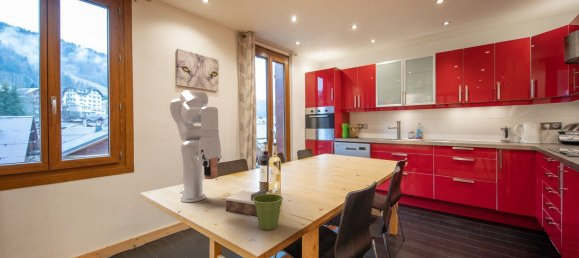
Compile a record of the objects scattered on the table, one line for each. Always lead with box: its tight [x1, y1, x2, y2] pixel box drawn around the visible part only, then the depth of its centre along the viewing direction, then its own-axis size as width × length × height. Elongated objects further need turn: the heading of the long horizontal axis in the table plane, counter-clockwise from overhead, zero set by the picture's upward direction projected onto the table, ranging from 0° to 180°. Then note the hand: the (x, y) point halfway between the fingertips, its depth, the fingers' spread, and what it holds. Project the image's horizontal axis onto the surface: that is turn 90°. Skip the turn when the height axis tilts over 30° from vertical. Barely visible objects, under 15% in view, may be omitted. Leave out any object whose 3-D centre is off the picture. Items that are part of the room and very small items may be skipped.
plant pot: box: [253, 193, 284, 231], centre depth 93 cm, size 12×12×11 cm
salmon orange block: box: [204, 157, 219, 180], centre depth 108 cm, size 4×4×10 cm
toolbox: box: [225, 199, 258, 218], centre depth 112 cm, size 18×13×5 cm
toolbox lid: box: [225, 188, 268, 205], centre depth 112 cm, size 18×13×4 cm
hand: (211, 174), depth 108 cm, fingers closed on salmon orange block, 4 cm apart
